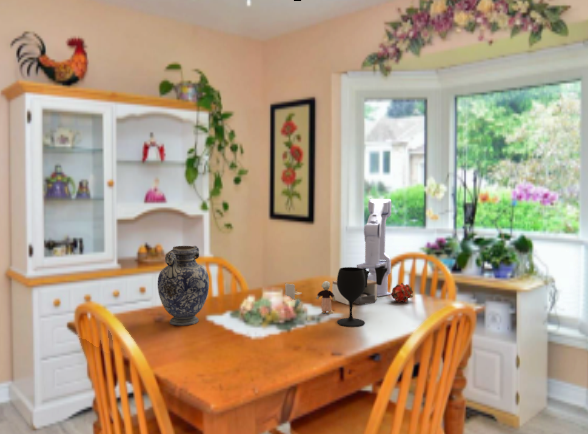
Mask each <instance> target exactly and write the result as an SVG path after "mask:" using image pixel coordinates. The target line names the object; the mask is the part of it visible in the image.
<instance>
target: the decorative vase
mask: <svg viewBox="0 0 588 434" xmlns="http://www.w3.org/2000/svg"><path fill="white" fill-rule="evenodd" d="M199 257H200V249H199V247H198V246H197V245H193V246H191V245H177V246H173V248H172V249H170V250H169V251H168V252H167V253H166V254H165V256H164V258H165V261H164V262H165V264H167V265H165V267H163V268H162V269H161V270H160V272H159V274H158V277H157V292H158V296H159V299H160V302H161V304H162V306H163V308H164V310H165V311H166V312H167V313H168V314H169V315H171V316H172V318H170V319H169V324H170V325H172V326H178V327H184V326H192V325H196V324H198V322H199V318H198V317H197V316H196V315H197V314H199V312H200V311H201V310H202V309H203V307H204V305H205V303H206V300H207V298H208V294H209V291H210V278H209V277H210V276H209V274H208V273H209V272H208V271H207V270H206V268H205V266H202V265H200V264H199V263H198V262H197V259H199Z"/></svg>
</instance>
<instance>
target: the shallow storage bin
mask: <svg viewBox="0 0 588 434" xmlns="http://www.w3.org/2000/svg"><path fill="white" fill-rule="evenodd" d="M331 292H332V293H333V295H334V297H335V299H336V300H335V302H339V303H342V304H345V305H349V301H348V300H347V299H345V298H344V297H343V296H342V295H341V294H340V292H339V290H338V287H337V280H332V289H331ZM363 292H366V293H369V294H373V295H375V301H377V300H378V296H377V283H376V281H372V280H368V279H367V287H365V289H364V291H363Z"/></svg>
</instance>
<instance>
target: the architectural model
mask: <svg viewBox="0 0 588 434" xmlns="http://www.w3.org/2000/svg"><path fill="white" fill-rule="evenodd" d="M284 286H285V287H284V288H285V293H284V295H287V296H290V297H291V298H292V299H295V300H296V296H297V295H301V294H302V293H303V292H299V291H297V290H298V289H296V288H295V287H296V285H295V284H294V283H285V284H284Z"/></svg>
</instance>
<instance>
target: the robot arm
mask: <svg viewBox="0 0 588 434" xmlns="http://www.w3.org/2000/svg"><path fill="white" fill-rule="evenodd" d="M367 207H368V208H367V209H368V212H369V216H368V219H367V222H366V224H364V227H363V235H364V242H365V244H364V245H365V246H364V251H365V252H364V255H365V256H364V262H363V263H360V264H356V268H362V269H363V270H364V274H365V281H366V283H365V287H367V279H368V280H372V281H376V283H377V297H382V296H388V295H389V296H391V293H392V292H389V291H388V290H389V289H388V285H389V284H388V282H389V280H388V278H389V277H388V276H389V275H390V274H391V272H392V259H391V257H390V255H388V254H386V228H387V227H386V226H387V225H386V224H387V223H386V222H387V219H388V218H390V217H391V215H392V200H391V199H390V198H370V199H368V205H367Z"/></svg>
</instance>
